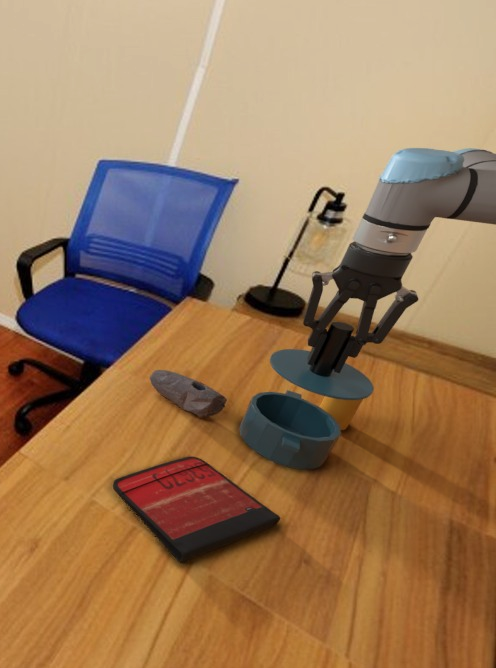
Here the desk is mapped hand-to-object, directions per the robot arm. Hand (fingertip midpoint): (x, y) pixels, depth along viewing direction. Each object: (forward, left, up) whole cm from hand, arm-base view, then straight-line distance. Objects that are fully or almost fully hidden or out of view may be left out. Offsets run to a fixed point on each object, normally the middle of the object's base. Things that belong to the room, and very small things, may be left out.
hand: (323, 364), depth 92 cm
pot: (0, 0, -20) cm, 20 cm away
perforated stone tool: (+18, -1, -20) cm, 27 cm away
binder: (+12, +28, -20) cm, 37 cm away
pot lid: (0, 0, -2) cm, 2 cm away
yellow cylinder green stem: (-8, -14, -20) cm, 25 cm away
